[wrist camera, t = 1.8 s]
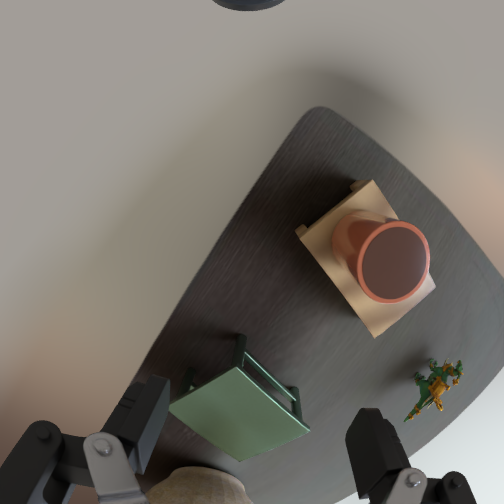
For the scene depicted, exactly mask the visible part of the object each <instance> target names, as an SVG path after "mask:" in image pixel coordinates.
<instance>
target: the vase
mask: <svg viewBox="0 0 504 504" xmlns="http://www.w3.org/2000/svg"><path fill="white" fill-rule="evenodd" d="M145 495H146V496H147V498H148V500H149V502H150V504H253V503H252V501H251V500H250V499H249V497H248V496H247V495H246V493H245V491H244V486H243V484H242V483H241V482H240V481H239V480H238V479H237V478H235V477H234V476H232V475H230V474H228V473H225V472H222V471H219V470H215V469H211V468H206V467H194V466H191V467H182V468H178V469H176V470H174V471H173V472H172V473H171V475H170V476H169V477H168V478H167V479H165V480H163V481H162V482H160V483H158V484H157V485H155V486H154V487H152V488H151V489H150V490H149V491H148V492H146V494H145Z"/></svg>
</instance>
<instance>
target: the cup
mask: <svg viewBox="0 0 504 504" xmlns="http://www.w3.org/2000/svg"><path fill="white" fill-rule="evenodd" d="M332 251H333V254H334V257H335V259H336V260H337V262H338V263H339V264H340V265H341V266H342V268H343V269H344V270H345V271H346V272H347V273H348V274H349V275H350V277H351V278H352V279H353V280H354V281H355V282H356V283H357V285H358V286H359V287H360V288H361V289H362V290H363V292H364V293H365V294H366V295H367V296H368V297H369V298H371V299H372V300H374V301H376V302H379V303H383V304H393V303H398V302H401V301H403V300H405V299H407V298H409V297H410V296H412V295H413V294H414V293H415V292H416V291H417V290H418V289H419V288H420V286H421V285H422V283H423V282H424V280H425V278H426V275H427V273H428V269H429V264H430V251H429V246H428V243H427V240H426V238H425V236H424V235H423V233H422V232H421V231H420V230H419V229H418V228H417V227H416V226H414V225H412V224H410V223H408V222H405V221H402V220H398V219H395V218H391V217H388V216H384V215H381V214H377V213H374V212H370V211H364V210H360V211H354V212H352V213H349V214H348V215H346V216H345V217H343V218H342V219H341V220H340V222H339V223H338V224H337V226H336V227H335V230H334V232H333V236H332Z"/></svg>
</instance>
